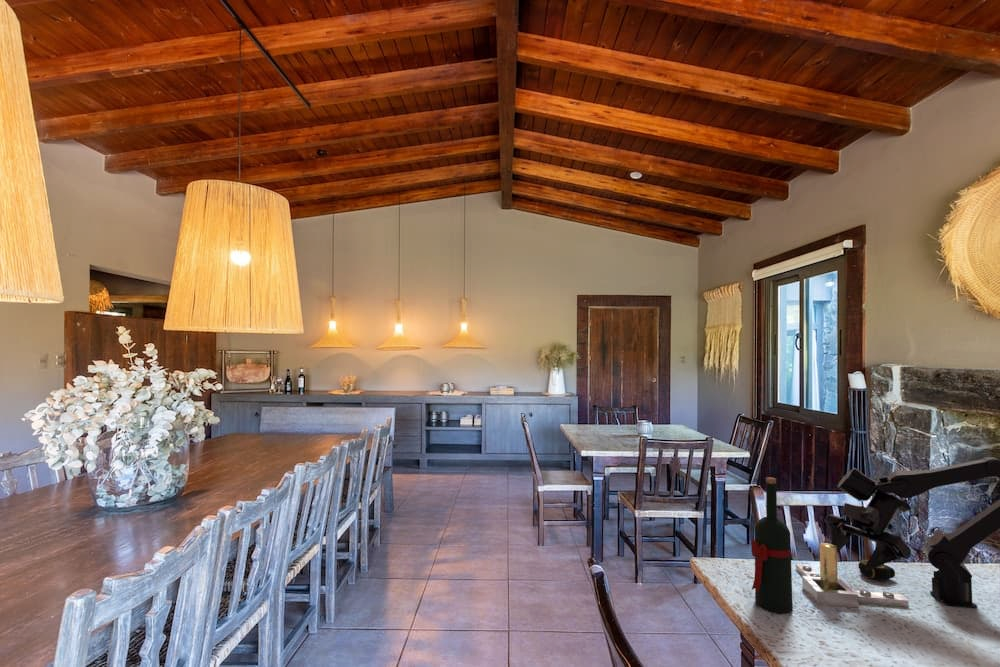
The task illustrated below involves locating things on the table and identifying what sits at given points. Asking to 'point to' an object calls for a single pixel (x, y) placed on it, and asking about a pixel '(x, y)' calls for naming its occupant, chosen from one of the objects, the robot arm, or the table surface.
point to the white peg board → (844, 592)
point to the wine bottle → (772, 558)
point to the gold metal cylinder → (828, 566)
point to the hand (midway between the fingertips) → (848, 561)
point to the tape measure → (876, 571)
